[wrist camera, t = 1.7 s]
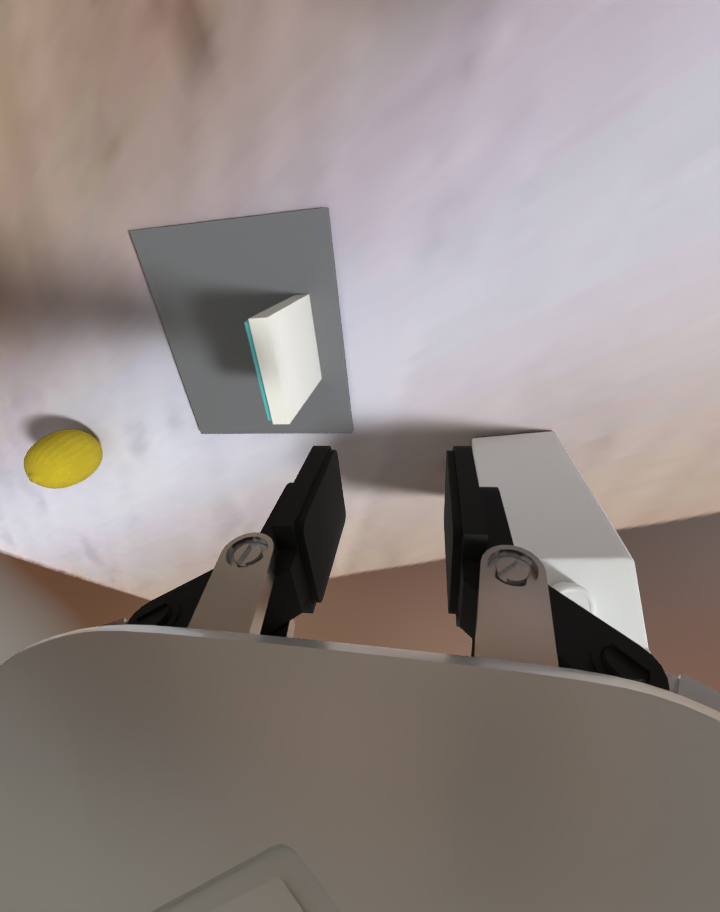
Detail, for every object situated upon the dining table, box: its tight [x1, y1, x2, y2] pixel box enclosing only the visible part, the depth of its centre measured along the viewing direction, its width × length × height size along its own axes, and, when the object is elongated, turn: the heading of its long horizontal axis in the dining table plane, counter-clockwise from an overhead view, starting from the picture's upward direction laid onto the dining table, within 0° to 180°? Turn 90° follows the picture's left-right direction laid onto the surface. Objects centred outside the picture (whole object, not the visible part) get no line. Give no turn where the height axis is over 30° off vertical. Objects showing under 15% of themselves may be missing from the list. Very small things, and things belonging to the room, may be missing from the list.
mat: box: [130, 207, 353, 434], centre depth 32 cm, size 18×16×1 cm
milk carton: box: [472, 431, 651, 654], centre depth 27 cm, size 7×7×19 cm
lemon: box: [24, 429, 102, 489], centre depth 38 cm, size 6×6×8 cm
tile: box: [244, 294, 322, 424], centre depth 27 cm, size 7×2×9 cm, turn 5°
